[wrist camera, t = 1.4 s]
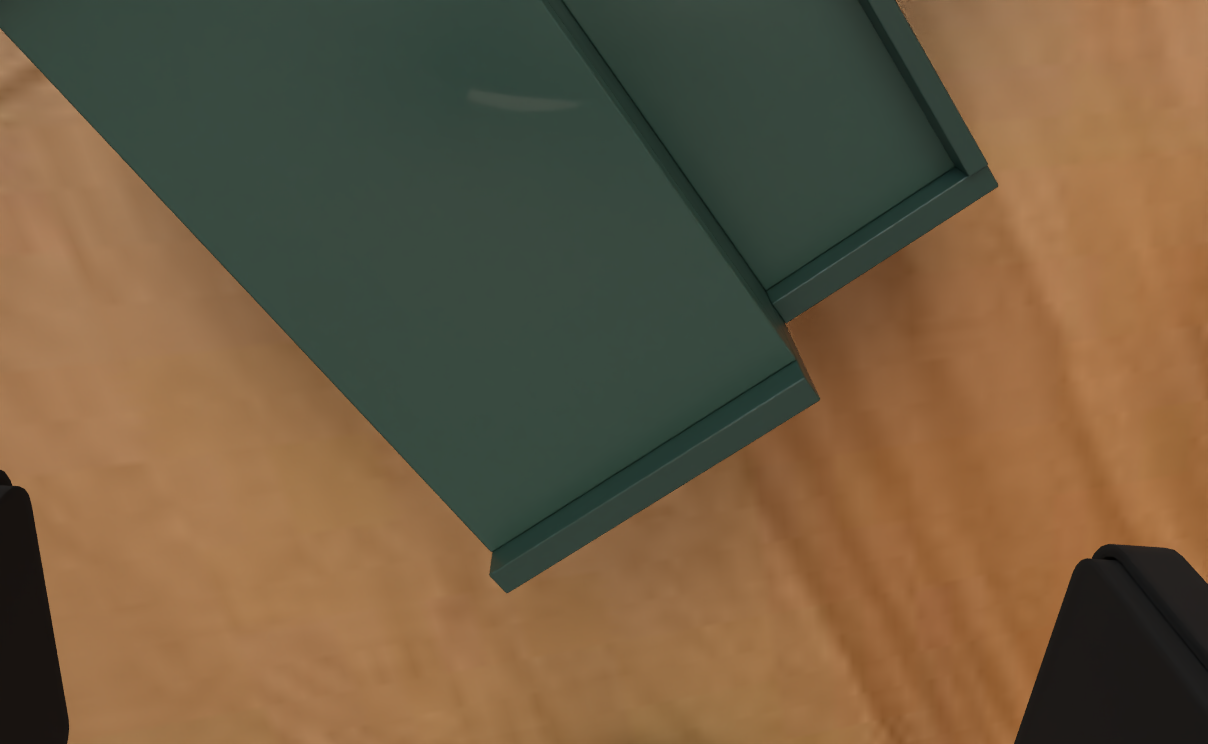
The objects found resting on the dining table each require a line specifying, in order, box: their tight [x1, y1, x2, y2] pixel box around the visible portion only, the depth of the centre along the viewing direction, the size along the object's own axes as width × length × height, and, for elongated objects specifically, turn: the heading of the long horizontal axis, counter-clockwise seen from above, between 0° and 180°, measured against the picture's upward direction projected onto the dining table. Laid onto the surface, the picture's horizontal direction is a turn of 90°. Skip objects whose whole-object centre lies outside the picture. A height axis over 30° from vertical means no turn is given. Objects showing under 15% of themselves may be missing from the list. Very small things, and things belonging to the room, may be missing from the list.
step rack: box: [0, 0, 998, 593], centre depth 27 cm, size 17×20×11 cm
